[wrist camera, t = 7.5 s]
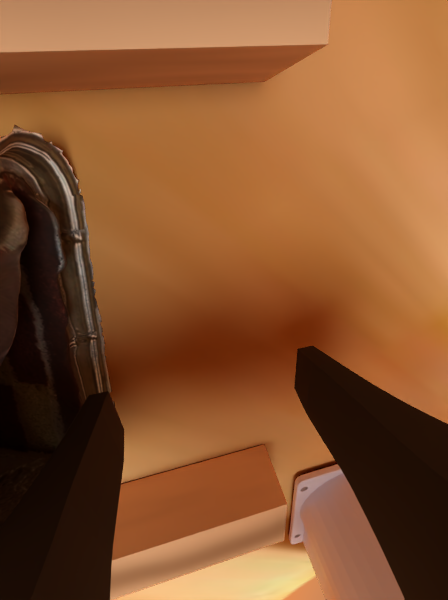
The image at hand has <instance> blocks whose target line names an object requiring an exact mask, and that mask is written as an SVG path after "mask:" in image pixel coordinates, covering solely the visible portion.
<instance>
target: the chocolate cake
mask: <svg viewBox="0 0 448 600" xmlns="http://www.w3.org/2000/svg"><path fill="white" fill-rule="evenodd" d="M62 152H63V151H62V150H61V149H59V148H57V147H55V146H53V145H52V141H51V142H50V143H48V142H46V141H44V139H43V137H42V135H41V133H34V132H33V133H30V131H29V132H28V131H26V130H24V129H22V128H20V127H18V126H16V125H14V128H13V131H12V132H11V133H10V134H8V135H7V136H3V137H1V139H0V527H1V526H2V524H3V523H4V522H5V520H6V519H7V518H8V516H9V515H10V514H11V512H12V511H13V510H14V508H15V507H16V506H17V504H18V503H19V502H20V500H21V499H22V497H23V496H24V494H25V493H26V492H27V490H28V489H29V487H30V486H31V484H32V483H33V482H34V480H35V479H36V477H37V476H38V474H39V473H40V472H41V470H42V469H43V467H44V466H45V464H46V463H47V461H48V460H49V458H50V457H51V455H52V453H53V452H54V450H55V449H56V447H57V446H58V444H59V443H60V441H61V440H62V438H63V436H64V435H65V433H66V432H67V430H68V428H69V427H70V425H71V423H72V422H73V420H74V419H75V417H76V415H77V414H78V412H79V410H80V409H81V407H82V405H83V404H84V402H85V400H86V399H87V397H88V396H89V395H92V394H97V393H101V392H106V391H109V394H110V392H111V391H112V390H111V385H110V381H109V375H108V370H107V365H106V356H105V355H104V352H105V351H104V350H105V346H104V344H105V342H104V336H102V332H103V331H102V327H101V325H100V322H101V316H100V314H99V309H98V307H97V302H96V300H95V297H94V295H95V291H96V290H95V289H94V288H93V287H94V283H95V282H93V281H92V279H93V267H92V262H91V260H90V248H89V232H88V226H87V223H86V218H85V205H84V200H83V196H80V195H79V194H80V192H81V189H80V190H79V191H78V185H77V183H78V181H79V180H77V179H76V178H75V176H74V174H73V170H72V167H71V166H70V165H69V162H68V160H67V159H66V158H65V157H64V156H63V155H62ZM113 404H114V406H115V403H114V401H113Z"/></svg>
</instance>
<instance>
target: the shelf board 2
mask: <svg viewBox="0 0 448 600" xmlns="http://www.w3.org/2000/svg"><path fill="white" fill-rule="evenodd" d="M286 514H287V502H286V499H285V497H284V494H283V492H282V489H281V486H280V484H279V481H278V479H277V476H276V473H275V471H274V468H273V466H272V463H271V461H270V458H269V455H268V453H267V450H266V448H265V445H260V446H257V447H253V448H250V449H246V450H242V451H239V452H235V453H232V454H228V455H224V456H221V457H217V458H214V459H210V460H207V461H203V462H199V463H196V464H192V465H189V466H185V467H182V468H178V469H174V470H171V471H167V472H164V473H160V474H156V475H153V476H149V477H146V478H142V479H139V480H135V481H131V482H128V483H124V484H121V487H120V495H119V503H118V511H117V518H116V526H115V534H114V542H113V553H112V567H111V589H110V600H114V599H117V598H119V597H122V596H125V595H128V594H131V593H134V592H137V591H140V590H143V589H145V588H148V587H151V586H154V585H157V584H160V583H163V582H166V581H169V580H172V579H174V578H177V577H180V576H183V575H186V574H189V573H192V572H195V571H198V570H201V569H203V568H206V567H209V566H212V565H215V564H218V563H221V562H224V561H227V560H229V559H232V558H235V557H238V556H241V555H244V554H247V553H250V552H253V551H256V550H258V549H261V548H264V547H267V546H270V545H273V544H276V543H279V542H282V541H284V536H285V525H286Z"/></svg>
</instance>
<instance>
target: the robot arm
mask: <svg viewBox="0 0 448 600" xmlns="http://www.w3.org/2000/svg"><path fill="white" fill-rule="evenodd" d="M294 388H295V390H296V392H297V394H298V397H299V399H300V401H301V403H302V405H303V407H304V409H305V411H306V413H307V415H308V417H309V418H310V420H311V422H312V423H313V425H314V427H315V428H316V430H317V432H318V433H319V435H320V436H321V438H322V440H323V441H324V443H325V444H326V446H327V448H328V449H329V451H330V452H331V454H332V456H333V457H334V459H335V461H336V462H337V464H336V465H333V466H330V467H326V468H323V469H320V470H316V471H313V472H310V473H307V474H303V475H301V476H299V477H297V478H296V480H295V486H294V495H293V505H292V514H291V523H290V532H289V540H290V543H291V544H297V543H300V542H303V543H304V545H305V548H306V551H307V553H308V556H309V558H310V561H311V563H312V566H313V569H314V571H315V574H316V576H317V579H318V581H319V584H320V586H321V589H322V592H323V594H324V597H325V599H326V600H448V424H446V423H444V422H442V421H440V420H438V419H436V418H434V417H432V416H430V415H428V414H426V413H424V412H422V411H420V410H418V409H416V408H414V407H412V406H410V405H408V404H407V403H405V402H403V401H401V400H399V399H397V398H396V397H394V396H392V395H390V394H389V393H387V392H385V391H383V390H382V389H380V388H378V387H377V386H375V385H373V384H372V383H370V382H368V381H367V380H365V379H363V378H362V377H360V376H359V375H357V374H355V373H354V372H352V371H351V370H349V369H348V368H346V367H345V366H343V365H342V364H340V363H339V362H337V361H335V360H334V359H332V358H331V357H329V356H328V355H326V354H325V353H323V352H322V351H320V350H319V349H317V348H316V347H314V346H309V347H305V348H300V349H298V351H297V363H296V375H295V387H294ZM123 462H124V428H123V426H122V423H121V421H120V419H119V416H118V414H117V411H116V409H115V406H114V404H113V401H112V399H111V396H110V394H109V391H106V392H101V393H97V394H92V395H89V396H88V397H87V399H86V400H85V402H84V404H83V405H82V407H81V409H80V410H79V412H78V414H77V415H76V417H75V419H74V420H73V422H72V423H71V425H70V427H69V428H68V430H67V432H66V433H65V435H64V436H63V438H62V440H61V441H60V443H59V444H58V446H57V447H56V449H55V450H54V452H53V453H52V455H51V457H50V458H49V460H48V461H47V463H46V464H45V466H44V467H43V469H42V470H41V472H40V473H39V474H38V476H37V477H36V479H35V480H34V482H33V483H32V484H31V486H30V487H29V489H28V490H27V492H26V493H25V494H24V496H23V497H22V499H21V500H20V502H19V503H18V504H17V506H16V507H15V508H14V510H13V511H12V512H11V514H10V515H9V516H8V518H7V519H6V520H5V522H4V523H3V524H2V526H1V527H0V600H110V589H111V567H112V553H113V542H114V534H115V526H116V518H117V511H118V503H119V495H120V487H121V479H122V471H123Z"/></svg>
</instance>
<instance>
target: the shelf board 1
mask: <svg viewBox="0 0 448 600" xmlns="http://www.w3.org/2000/svg"><path fill="white" fill-rule="evenodd" d="M331 4H332V0H0V94H11V93H32V92H53V91H74V90H95V89H116V88H137V87H158V86H180V85H201V84H222V83H243V82H264V81H266V80H268V79H270V78H272V77H273V76H275V75H277V74H278V73H280V72H282V71H283V70H285V69H287V68H289V67H290V66H292V65H294V64H295V63H297V62H299V61H300V60H302V59H304V58H306V57H307V56H309V55H311V54H312V53H314V52H316V51H317V50H319V49H321V48H323V47H324V46H326V45H328V38H329V26H330V15H331Z"/></svg>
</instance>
